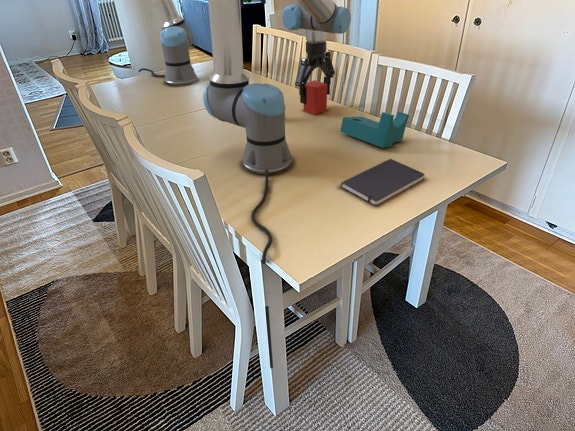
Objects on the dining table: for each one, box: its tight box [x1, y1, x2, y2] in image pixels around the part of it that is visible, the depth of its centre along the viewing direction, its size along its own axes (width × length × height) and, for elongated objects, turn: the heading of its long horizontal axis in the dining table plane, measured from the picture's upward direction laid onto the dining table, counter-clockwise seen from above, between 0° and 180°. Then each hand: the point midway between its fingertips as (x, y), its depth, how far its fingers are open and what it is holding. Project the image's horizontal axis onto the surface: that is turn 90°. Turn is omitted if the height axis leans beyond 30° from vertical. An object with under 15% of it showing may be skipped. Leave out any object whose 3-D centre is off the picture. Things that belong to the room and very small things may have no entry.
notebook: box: [340, 158, 425, 206], centre depth 114 cm, size 13×2×21 cm
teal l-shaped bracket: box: [339, 111, 410, 149], centre depth 136 cm, size 18×11×10 cm, turn 43°
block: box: [302, 79, 328, 116], centre depth 158 cm, size 7×6×11 cm
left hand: (252, 5), depth 190 cm, fingers open, 13 cm apart
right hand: (315, 98), depth 158 cm, fingers open, 13 cm apart
